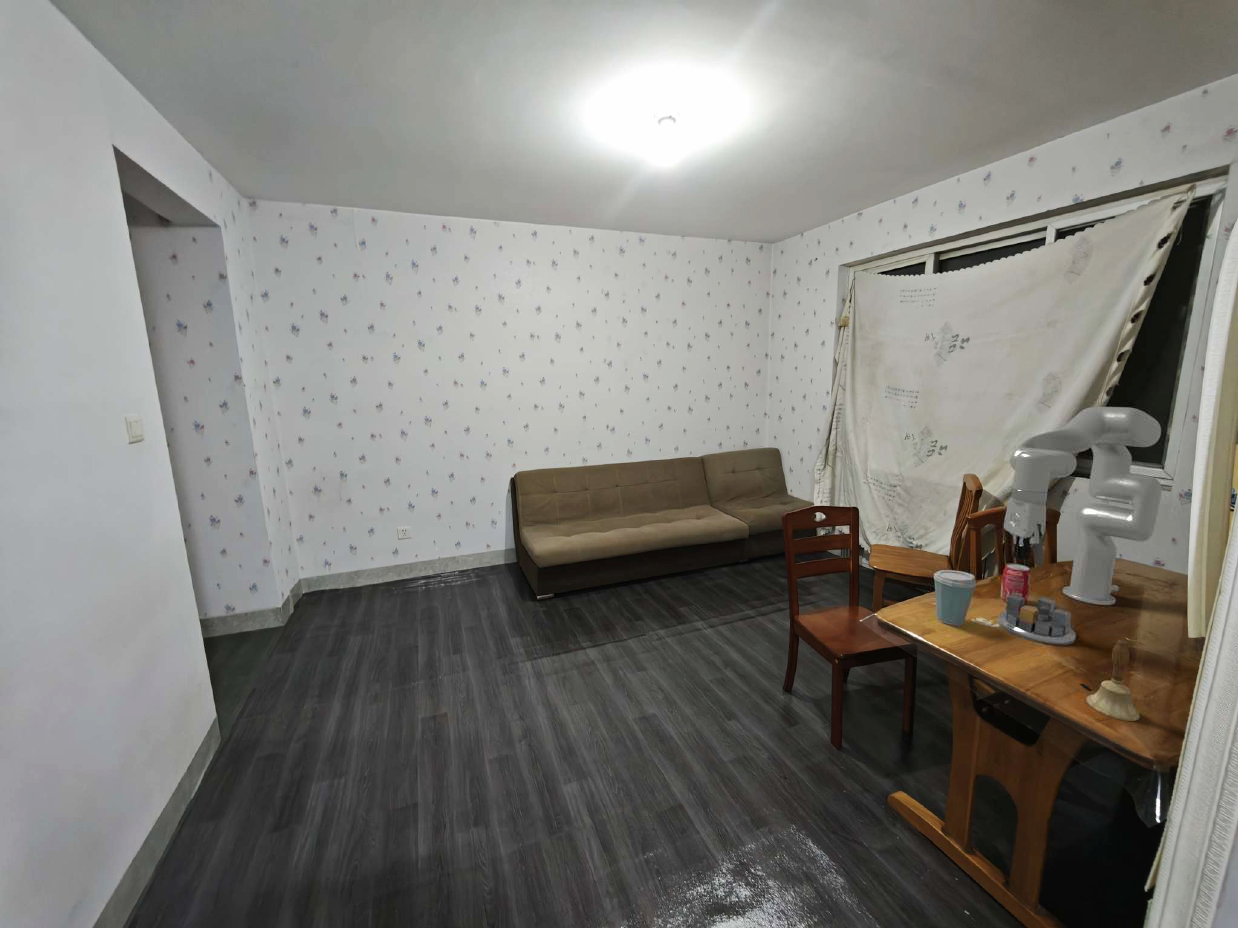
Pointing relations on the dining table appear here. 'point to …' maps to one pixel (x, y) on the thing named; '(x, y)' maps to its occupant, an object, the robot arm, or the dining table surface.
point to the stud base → (1033, 636)
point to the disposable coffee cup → (953, 595)
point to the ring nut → (1028, 616)
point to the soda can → (1016, 582)
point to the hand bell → (1115, 689)
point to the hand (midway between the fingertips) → (1020, 558)
